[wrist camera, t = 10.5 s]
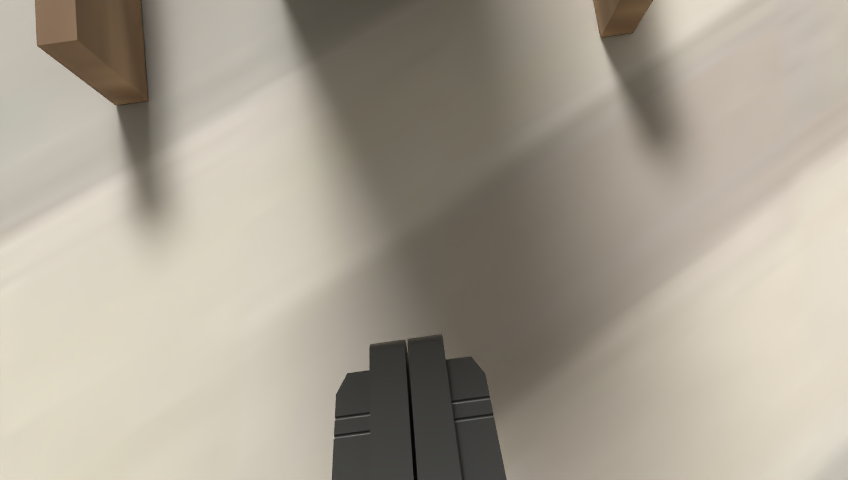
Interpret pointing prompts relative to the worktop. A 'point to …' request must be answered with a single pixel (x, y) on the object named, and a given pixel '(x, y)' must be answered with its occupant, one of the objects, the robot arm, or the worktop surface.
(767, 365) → the worktop surface
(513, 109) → the worktop surface
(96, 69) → the tray
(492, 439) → the robot arm
